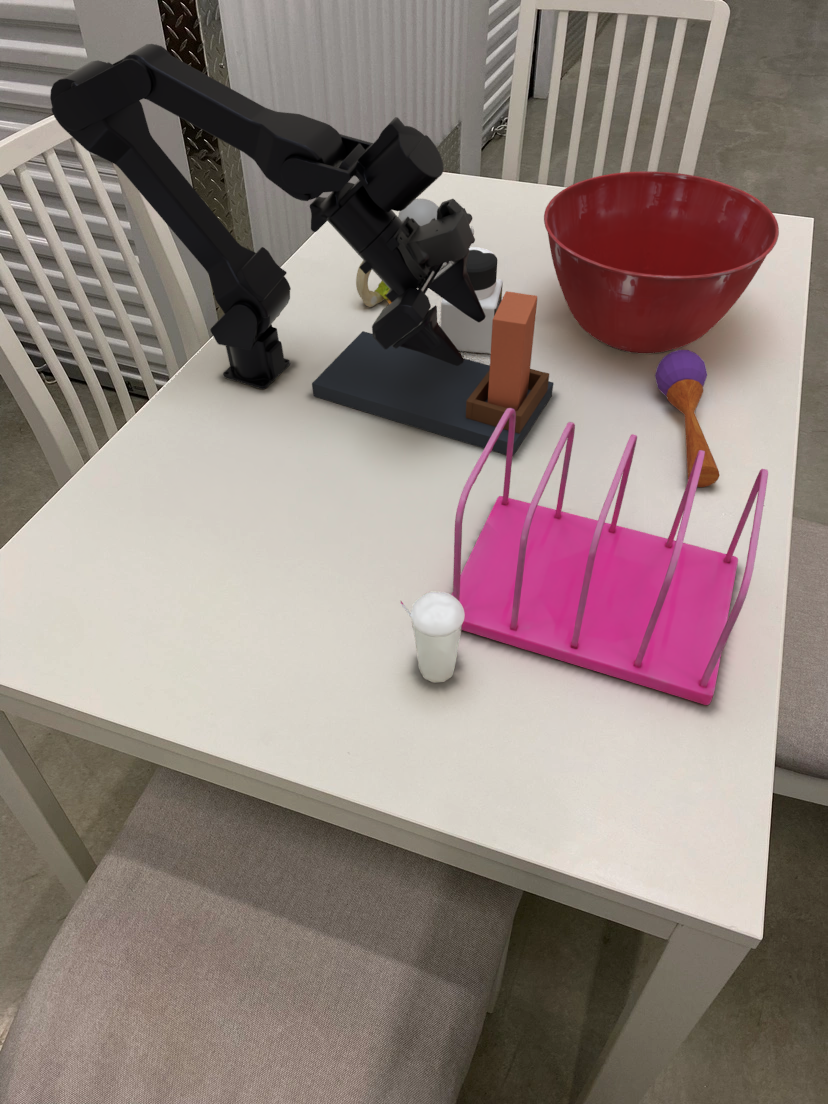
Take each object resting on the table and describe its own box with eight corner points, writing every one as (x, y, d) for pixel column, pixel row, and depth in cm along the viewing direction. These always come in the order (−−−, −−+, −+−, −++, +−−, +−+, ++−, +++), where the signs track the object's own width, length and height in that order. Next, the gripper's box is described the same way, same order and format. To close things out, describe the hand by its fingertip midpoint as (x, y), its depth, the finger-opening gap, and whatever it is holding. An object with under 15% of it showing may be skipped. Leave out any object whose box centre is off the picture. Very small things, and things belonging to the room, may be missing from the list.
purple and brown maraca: (676, 460, 88) (652, 343, 100) (674, 497, 92) (652, 381, 104) (734, 454, 86) (703, 336, 99) (729, 492, 91) (700, 375, 103)
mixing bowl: (512, 367, 106) (521, 255, 95) (555, 262, 125) (567, 158, 113) (737, 405, 100) (776, 290, 89) (748, 289, 118) (781, 181, 107)
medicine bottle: (492, 355, 108) (498, 271, 100) (440, 349, 109) (440, 266, 101) (499, 326, 113) (505, 243, 104) (449, 321, 114) (450, 238, 105)
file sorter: (497, 506, 89) (507, 387, 77) (734, 568, 82) (783, 448, 71) (441, 625, 78) (442, 507, 67) (709, 707, 71) (762, 592, 60)
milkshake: (401, 650, 76) (398, 581, 69) (458, 646, 76) (461, 576, 69) (405, 692, 73) (402, 623, 66) (464, 687, 73) (468, 618, 66)
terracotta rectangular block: (486, 416, 96) (492, 318, 87) (498, 387, 100) (505, 290, 91) (516, 422, 96) (525, 324, 86) (527, 392, 99) (537, 295, 90)
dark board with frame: (313, 396, 103) (309, 366, 100) (363, 343, 111) (361, 314, 107) (512, 457, 94) (515, 426, 91) (551, 395, 102) (555, 365, 99)
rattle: (377, 328, 113) (373, 249, 105) (350, 301, 118) (343, 224, 110) (423, 312, 116) (423, 235, 107) (395, 287, 121) (392, 211, 112)
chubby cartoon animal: (465, 274, 123) (466, 219, 116) (390, 262, 126) (388, 207, 119) (479, 252, 127) (481, 198, 121) (407, 241, 130) (406, 187, 124)
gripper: (397, 229, 76) (504, 351, 82) (453, 151, 88) (543, 262, 94) (326, 293, 84) (429, 400, 89) (387, 213, 95) (474, 312, 101)
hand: (472, 341), depth 93 cm, fingers open, 9 cm apart
